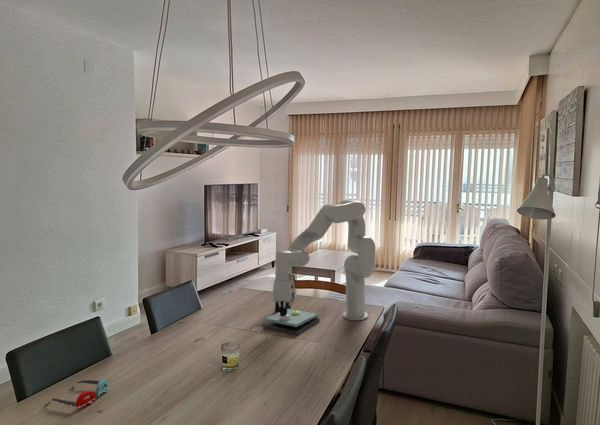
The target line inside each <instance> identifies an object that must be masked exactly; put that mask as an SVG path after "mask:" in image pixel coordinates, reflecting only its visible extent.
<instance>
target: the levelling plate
mask: <svg viewBox="0 0 600 425" xmlns="http://www.w3.org/2000/svg"><path fill="white" fill-rule="evenodd" d="M315 317H318V313H314V312H310V311H309V312H307V311H302V310H296V309H292V308H291V309H287V315H285V316H280V312H278V313H276V312H275V313H273V314H272V315H269V316H267V317H265V318H264V320H265V322H269V321H270V322H275V323H279V324H284V325H289V326H294V327H298V326H300V325H302V324H304V323H306V322H308V321H309V320H311V319H313V318H315ZM318 318H319V317H318Z"/></svg>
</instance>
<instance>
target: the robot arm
mask: <svg viewBox="0 0 600 425" xmlns="http://www.w3.org/2000/svg"><path fill="white" fill-rule="evenodd" d="M365 213H366V206H365V204H364V203H363V202H362V201H359V200H355V199H354V200H352V199H344V200H341V201H339V203H338V204H329V203H327V204H324V205H322V207H321V208H320V209H319V211H318V212H317V214H316V215H315V217H314V218H313V219H312V221H311V222H310V224H309V226H308V227H307V228H306V229H305V230H303V231H302V232H301V233H300V234H298V235H297V236H296V237H295V238H294V240H293V241H292V243H291V244H290V245H289V247H288V249H287V250H285V249H284V250H283V249H282V250H278V251H276V252H275V271H276V277H275V278H274V281H273V288H272V298H273V302H274V303H275V302H276V303H277V304H278V305H279V307H280V316H285V315H287V307H288V306H289V305H291V306H292V305H294V302H295V300H296V288H295V282H294V278H295V276H294V275H293V273H292V272H293V267H304V266H306V265H307V264H309V262H310V255H309V253H308V252H307V251H305V250H306V249H307V247H308V246H309V245H311V244H313V243H314V242H317V241H320V240H321V239H323V237H324V236H325V235H326V233H327V231H328V230H329V229H330V227H331V226H332V225H333V223H334V224H342V223H346V222H347V227H348V228H347V229H348V230H347V249H348V250H349V251H350V252H352V253H355V254H351V255H349V256H347V257H346V258H345V260H344V263H343V268H344V274H345V275H344V276H345V311H344V312H343V314H342V316H343V318H344V319H346V320H349V321H363V320H366V319H368V317H369V314H368V313H367V312H366V309H367V305H366V280H365V279H367V278H370V277H371V276H372V275H373V274H374V272H375V264H376V262H375V261H376V244H375V241H374V239H373V238H372V237H369V236H368V235H366V220H365V217H364V215H365Z"/></svg>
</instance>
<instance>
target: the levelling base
mask: <svg viewBox="0 0 600 425" xmlns="http://www.w3.org/2000/svg"><path fill="white" fill-rule="evenodd" d="M318 323H320V317H315V318H313V319H311V320H309V321H308V322H306V323H304V324H302V325H300V326H298V327H294V326H289V325H284V324H279V323H275V322H270V321H266V322H265V323H263V324H262V328H263V330H269V331H273V332H279V333H282V334H287V335H292V336H295V337H297V336H300V335H301V334H303V333H304V332H306V331H307V330H309V329H310V328H312V327H313V326H316V324H318Z"/></svg>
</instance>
